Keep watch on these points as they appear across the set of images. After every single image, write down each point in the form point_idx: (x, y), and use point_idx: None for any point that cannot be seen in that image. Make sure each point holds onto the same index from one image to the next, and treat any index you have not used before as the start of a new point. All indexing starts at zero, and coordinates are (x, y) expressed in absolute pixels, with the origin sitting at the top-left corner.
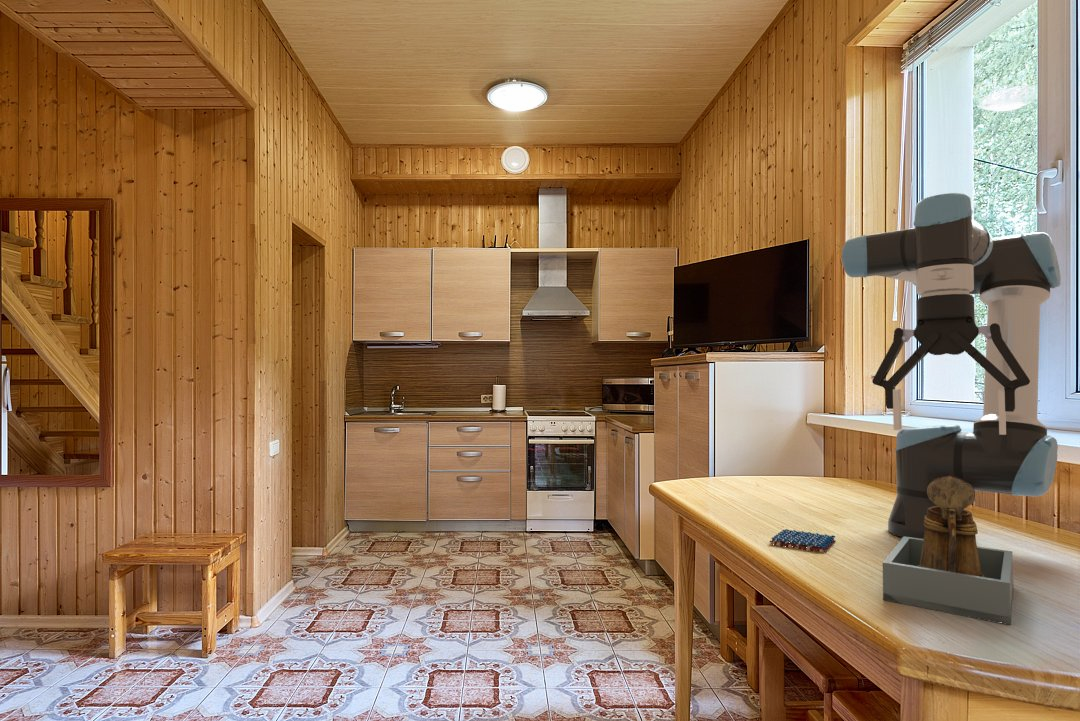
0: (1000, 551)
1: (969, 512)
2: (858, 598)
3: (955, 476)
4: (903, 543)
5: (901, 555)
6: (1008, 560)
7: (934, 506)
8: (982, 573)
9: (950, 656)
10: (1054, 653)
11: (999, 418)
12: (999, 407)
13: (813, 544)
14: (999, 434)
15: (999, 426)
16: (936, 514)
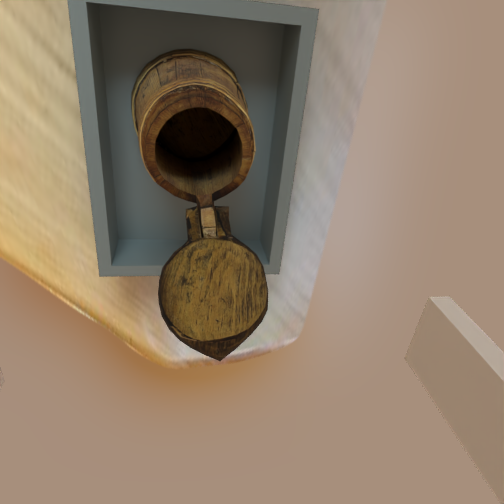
0: (293, 24)
1: (246, 147)
2: (76, 257)
3: (231, 350)
4: (89, 85)
5: (102, 147)
6: (297, 118)
7: (158, 117)
8: (247, 105)
9: (207, 364)
10: (296, 302)
11: (445, 413)
12: (480, 466)
13: None
14: (405, 358)
15: (423, 385)
16: (173, 194)
